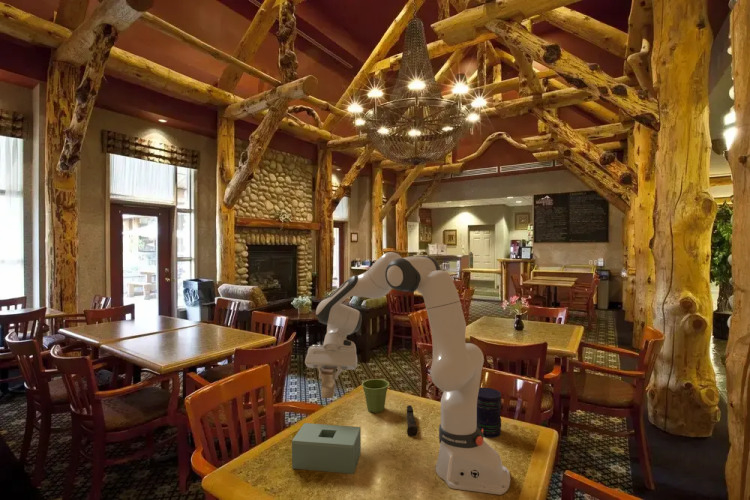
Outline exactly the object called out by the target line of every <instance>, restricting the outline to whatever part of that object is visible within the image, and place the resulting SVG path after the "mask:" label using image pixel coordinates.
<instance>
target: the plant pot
mask: <svg viewBox="0 0 750 500" xmlns="http://www.w3.org/2000/svg"><path fill="white" fill-rule="evenodd" d="M389 386H390V382H389V381H387V380H386V379H382V378H381V379H380V378H372V379H367V380H364V381H363V382H362V383H361V387H362V388H363V392H364V396H365V403H366V407H367V408H366V409H367V411H368V412H370V413H371V412H372V413H375V414H377V413H381V412H383V411H385V405H386V399H387V392H388V387H389Z"/></svg>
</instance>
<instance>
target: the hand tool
mask: <svg viewBox="0 0 750 500" xmlns="http://www.w3.org/2000/svg"><path fill="white" fill-rule="evenodd" d="M406 420H407V428H406V434H407V436H408V437H416V436H417V435H418V431H419V430H418V429H419V428H418V427H417V424H416V423H417V421H416V420H415V416H414V408H413V407H412V405H410V404H408V405H407V406H406Z"/></svg>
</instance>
